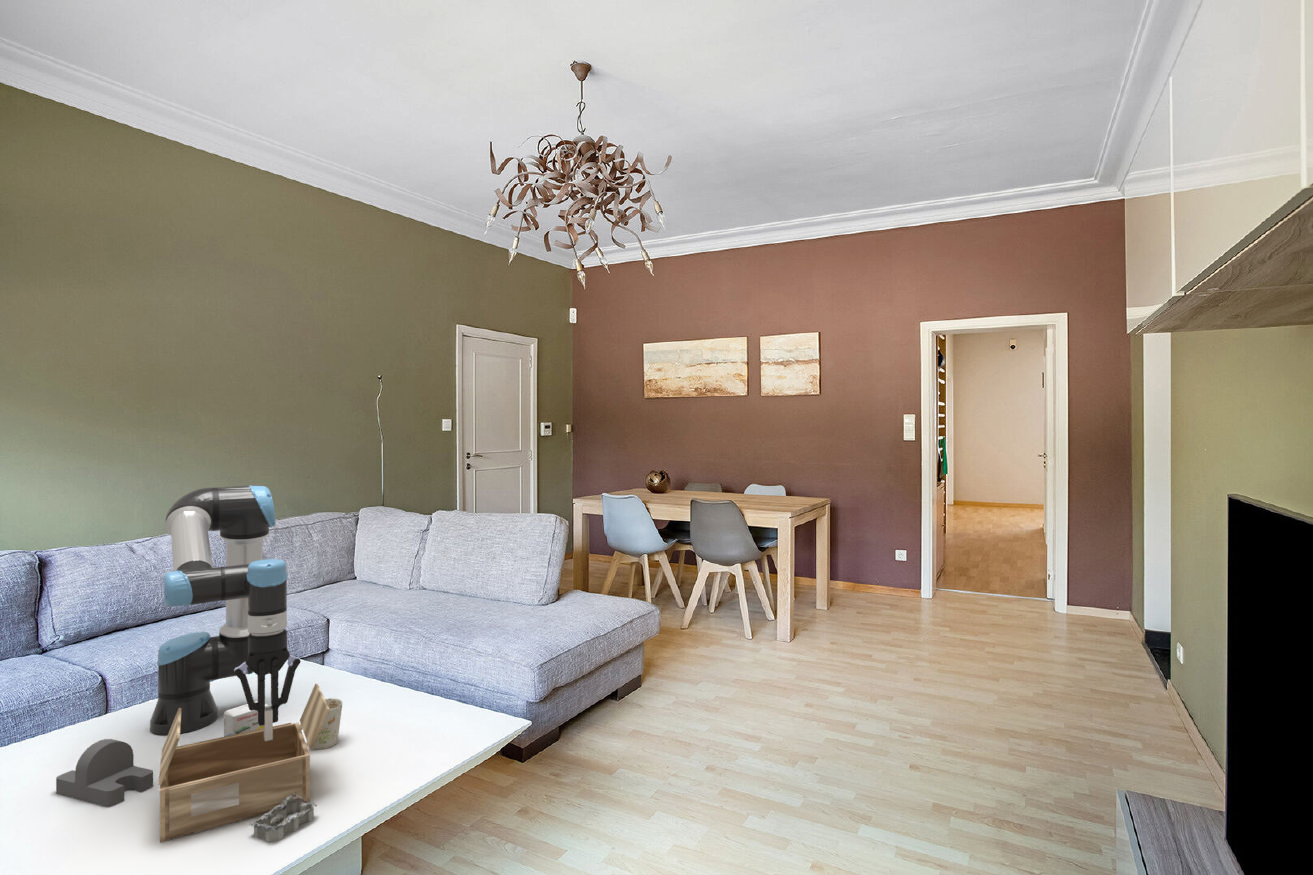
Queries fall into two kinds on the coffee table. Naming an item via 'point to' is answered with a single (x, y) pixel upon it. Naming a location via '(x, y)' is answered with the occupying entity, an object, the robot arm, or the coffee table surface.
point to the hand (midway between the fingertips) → (268, 737)
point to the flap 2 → (314, 716)
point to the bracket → (104, 775)
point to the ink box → (241, 720)
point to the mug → (329, 725)
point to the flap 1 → (170, 746)
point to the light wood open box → (232, 779)
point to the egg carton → (283, 818)
